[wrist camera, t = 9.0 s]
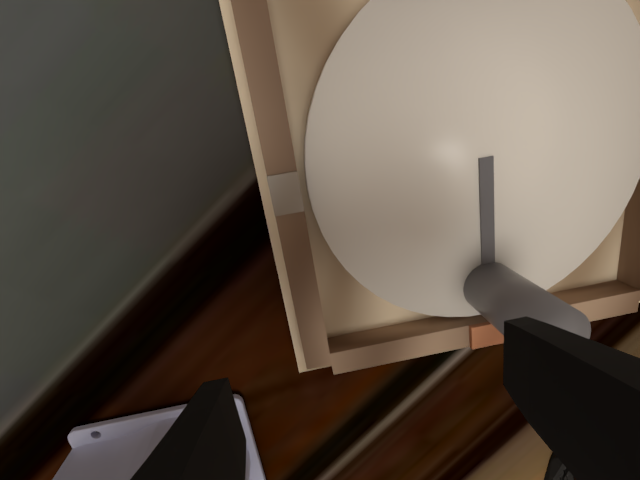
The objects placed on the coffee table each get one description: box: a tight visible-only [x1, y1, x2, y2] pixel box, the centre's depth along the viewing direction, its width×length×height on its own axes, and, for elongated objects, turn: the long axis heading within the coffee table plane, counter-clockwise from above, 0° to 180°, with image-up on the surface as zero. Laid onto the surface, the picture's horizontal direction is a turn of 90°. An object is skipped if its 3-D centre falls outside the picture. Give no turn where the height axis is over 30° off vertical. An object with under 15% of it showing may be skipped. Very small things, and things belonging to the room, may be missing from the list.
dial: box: [304, 0, 640, 339], centre depth 13 cm, size 15×15×5 cm
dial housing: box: [219, 0, 640, 375], centre depth 16 cm, size 19×19×3 cm
